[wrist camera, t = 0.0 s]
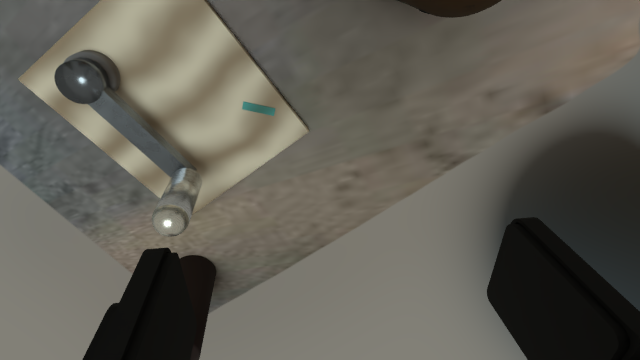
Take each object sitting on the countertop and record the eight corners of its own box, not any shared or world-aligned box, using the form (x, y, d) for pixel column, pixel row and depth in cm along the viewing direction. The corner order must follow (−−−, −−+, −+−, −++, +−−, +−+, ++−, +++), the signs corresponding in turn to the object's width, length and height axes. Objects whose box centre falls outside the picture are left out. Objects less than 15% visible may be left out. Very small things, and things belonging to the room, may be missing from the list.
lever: (55, 74, 38) (-23, 110, 28) (82, 48, 37) (12, 75, 27) (187, 192, 47) (164, 251, 37) (213, 173, 46) (196, 229, 36)
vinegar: (200, 291, 60) (170, 418, 43) (164, 273, 57) (117, 401, 40) (224, 267, 58) (204, 391, 41) (188, 247, 55) (150, 371, 38)
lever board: (24, 76, 41) (7, 83, 38) (163, -55, 36) (154, -58, 34) (187, 214, 52) (182, 227, 50) (308, 128, 48) (310, 137, 45)
